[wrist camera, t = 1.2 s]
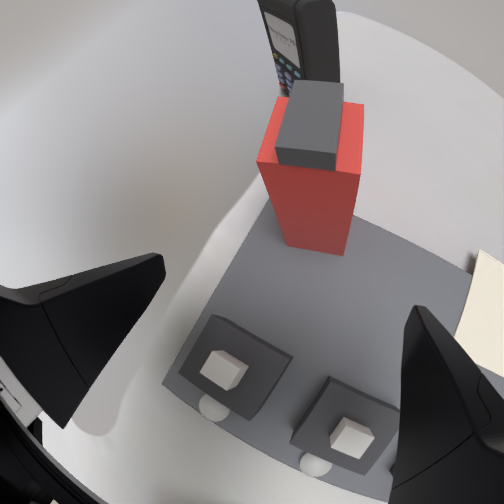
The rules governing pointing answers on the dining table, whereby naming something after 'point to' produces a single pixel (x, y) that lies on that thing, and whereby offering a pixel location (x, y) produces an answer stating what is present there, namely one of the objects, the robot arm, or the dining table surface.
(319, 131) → the block
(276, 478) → the dining table surface
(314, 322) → the breaker panel
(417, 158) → the dining table surface
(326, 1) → the card reader
